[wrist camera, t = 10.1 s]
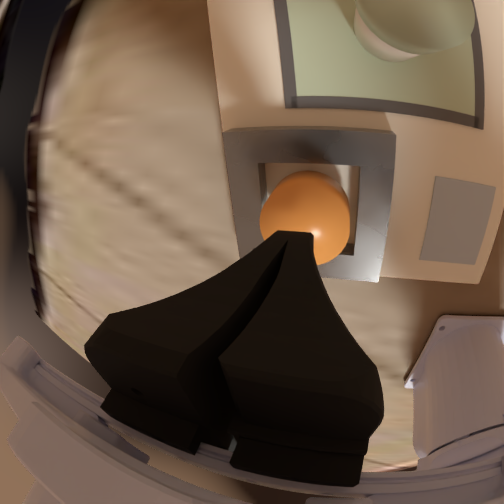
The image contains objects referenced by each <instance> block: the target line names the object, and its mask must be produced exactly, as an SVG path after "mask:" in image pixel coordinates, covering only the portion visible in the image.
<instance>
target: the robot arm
mask: <svg viewBox="0 0 504 504" xmlns="http://www.w3.org/2000/svg"><path fill="white" fill-rule="evenodd" d="M441 326H442V327H441ZM503 344H504V317H492V316H456V315H443V316H441V317H440V318H439V319H438V321H437V323H436V325H435V327H434V329H433V331H432V333H431V335H430V337H429V339H428V341H427V343H426V345H425V347H424V349H423V351H422V353H421V355H420V356H419V358H418V360H417V362H416V364H415V365H414V367H413V369H412V371H411V372H410V374H409V376H408V377H407V379H406V381H405V382H404V387H405V388H413V396H414V418H413V446H414V449H415V452H416V454H417V455H418V457H419V458H420V459H419V460H418V465H417V470H415V471H407V472H361V471H362V465H363V459H364V455H366V453H367V450H368V443H369V438H370V436H371V435H372V434H373V433H374V431H375V430H376V429H377V428H378V426H379V425H380V424H381V422H382V419H383V417H384V401H383V392H382V387H381V382H380V378H379V374H378V370H377V367H376V365H375V364H374V363H373V362H372V361H371V359H370V358H369V357H368V356H367V355H366V353H365V352H364V351H363V350H362V348H361V347H360V346H359V345H358V343H357V342H356V340H355V339H354V338H353V336H352V335H351V334H350V332H349V331H348V329H347V327H346V326H345V324H344V323H343V321H342V319H341V318H340V316H339V315H338V313H337V311H336V309H335V308H334V306H333V304H332V302H331V300H330V298H329V296H328V294H327V291H326V289H325V287H324V284H323V282H322V279H321V276H320V274H319V270H318V267H317V264H316V260H315V256H314V235H313V234H312V233H311V232H298V231H284V230H277V231H276V232H275V233H273V234H272V235H271V236H270V237H268V238H267V239H266V240H265V241H263V242H262V243H261V244H260V245H258V246H257V247H256V248H255V249H253V250H252V251H251V252H249V253H248V254H247V255H245V256H244V257H242V258H241V259H240V260H238V261H237V262H235V263H234V264H232V265H231V266H229V267H228V268H226V269H225V270H223V271H222V272H220V273H218V274H217V275H215V276H213V277H211V278H209V279H207V280H206V281H204V282H202V283H200V284H198V285H196V286H193V287H191V288H189V289H187V290H184V291H182V292H180V293H178V294H175V295H173V296H170V297H168V298H165V299H162V300H159V301H156V302H153V303H150V304H147V305H144V306H140V307H137V308H133V309H129V310H125V311H120V312H116V313H112V314H109V315H108V316H107V317H106V319H105V320H104V321H103V322H102V324H101V325H100V326H99V327H98V328H97V330H96V331H95V332H94V333H93V335H92V336H91V337H90V338H89V340H88V341H87V342H86V343H85V345H84V349H85V354H86V356H87V358H88V360H89V361H90V363H91V364H92V366H93V367H94V368H95V369H96V370H97V372H98V373H99V374H100V375H101V376H102V378H103V379H104V380H105V381H106V382H107V384H108V385H109V386H110V387H111V388H112V389H111V390H110V392H109V393H108V395H107V396H106V398H105V399H103V398H101V397H100V396H98V395H96V394H94V393H93V392H91V391H89V390H87V389H86V388H84V387H83V386H81V385H80V384H78V383H76V382H75V381H73V380H72V379H70V378H69V377H67V376H66V375H64V374H63V373H61V372H60V371H58V370H57V369H55V368H54V367H53V366H51V365H50V364H48V363H47V362H46V361H44V360H43V359H41V357H40V355H39V354H38V353H37V352H36V350H35V349H34V348H33V347H32V346H31V345H30V344H29V343H28V342H27V341H26V340H24V339H23V338H22V337H21V336H17V337H16V338H15V339H14V340H13V342H12V343H11V344H10V345H9V346H8V348H7V349H6V350H5V351H4V353H3V354H2V355H1V356H0V391H1V392H2V394H3V395H4V397H5V399H6V400H7V402H8V404H9V405H10V407H11V408H12V410H13V412H14V413H15V415H16V416H17V418H18V419H19V421H18V422H17V424H16V425H15V427H14V428H13V430H12V432H11V433H10V435H9V436H8V438H7V441H8V444H9V447H10V448H11V450H12V452H13V453H14V455H15V456H16V457H17V459H18V460H19V461H20V462H21V463H22V464H23V466H25V468H26V469H27V470H28V471H29V472H30V473H31V474H32V475H33V476H34V478H35V479H36V480H35V482H34V483H33V485H32V487H31V489H30V490H29V492H28V494H27V496H26V498H25V500H24V502H23V503H22V504H252V503H248V502H244V501H240V500H237V499H234V498H230V497H227V496H224V495H221V494H218V493H215V492H212V491H209V490H206V489H204V488H201V487H198V486H196V485H193V484H190V483H188V482H185V481H183V480H181V479H178V478H176V477H174V476H171V475H169V474H167V473H165V472H162V471H160V470H158V469H156V468H154V467H152V466H150V465H148V464H147V463H148V461H149V459H150V458H149V456H148V455H147V454H145V453H143V452H141V451H140V450H138V449H137V448H135V447H134V446H133V445H131V444H130V443H128V442H127V441H126V440H125V439H124V438H122V437H121V436H120V435H119V434H117V433H116V432H114V431H112V430H111V429H110V428H108V425H110V426H111V427H113V428H115V429H117V430H118V431H120V432H122V433H124V434H126V435H128V436H130V437H131V438H133V439H135V440H137V441H139V442H141V443H143V444H145V445H147V446H149V447H151V448H154V449H156V450H158V451H160V452H163V453H165V454H167V455H169V456H172V457H174V458H176V459H179V460H182V461H184V462H186V463H189V464H192V465H195V466H197V467H200V468H203V469H206V470H209V471H212V472H215V473H218V474H221V475H224V476H228V477H231V478H235V479H238V480H242V481H246V482H250V483H254V484H258V485H262V486H267V487H272V488H277V489H282V490H288V491H294V492H300V493H308V494H316V495H326V496H339V497H360V498H315V497H314V498H313V497H310V498H309V499H307V500H306V504H504V345H503ZM107 424H108V425H107Z"/></svg>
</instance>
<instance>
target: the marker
mask: <svg viewBox="0 0 504 504" xmlns="http://www.w3.org/2000/svg"><path fill="white" fill-rule="evenodd" d="M355 4H356V10H355V17H354V32H355V35H356V37H357V39H358V41H359V43H360V44H361V45H362V47H363V48H364V49H365V50H366V51H368V52H369V53H370V54H372V55H373V56H375V57H377V58H379V59H381V60H384V61H388V62H402V61H406V60H408V59H411V58H414V57H416V56H419V55H427V54H433V53H436V52H439V51H443V50H446V49H449V48H453V47H456V46H458V45H460V44H462V43H463V42H465V41H466V40H467V39H468V38H469V36H470V35H471V33H472V31H473V28H474V24H475V13H474V7H473V4H472V1H471V0H355Z"/></svg>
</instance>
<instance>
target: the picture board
mask: <svg viewBox="0 0 504 504" xmlns="http://www.w3.org/2000/svg"><path fill="white" fill-rule="evenodd" d="M471 1H472V4H473V7H474V13H475V24H474V28H473V31H472V33H471V35H470V36H469V38H468V39H467V40H466V41H465V42H463V43H462V44H460V45H458V46H456V47H453V48H449V49H446V50H443V51H439V52H436V53H433V54H427V55H419V56H416V57H414V58H411V59H408V60H406V61H402V62H388V61H384V60H381V59H379V58H377V57H375V56H373V55H372V54H370V53H369V52H368V51H366V50H365V49H364V48H363V47H362V45H361V44H360V43H359V41H358V39H357V37H356V35H355V32H354V17H355V10H356V4H355V0H207V6H208V15H209V24H210V33H211V41H212V50H213V58H214V66H215V74H216V82H217V90H218V98H219V106H220V114H221V122H222V129H223V132H225V131H227V130H229V129H232V128H246V127H266V126H334V127H354V128H368V129H379V130H389V131H393V132H394V133H395V134H396V154H395V170H394V182H393V192H392V201H391V209H390V217H389V224H388V231H387V237H386V243H385V249H384V255H383V260H382V266H381V271H380V275H379V276H380V277H392V278H404V279H416V280H429V281H442V282H455V283H468V284H479V282H480V279H481V277H482V274H483V272H484V269H485V267H486V264H487V261H488V258H489V256H490V253H491V250H492V247H493V244H494V241H495V237H496V234H497V231H498V227H499V224H500V220H501V217H502V213H503V209H504V0H471ZM306 170H310V171H317V172H321V173H323V174H326V175H328V176H330V177H331V178H333V179H334V180H335V181H336V182H338V183H339V184H340V186H341V187H342V188H343V190H344V191H345V193H346V195H347V197H348V201H349V206H350V234H349V238H348V242H347V243H349V244H354V236H355V225H356V213H357V198H358V179H359V166H351V165H334V164H311V163H265V172H266V184H267V195H268V198H269V196H270V195H271V193H272V192H273V190H274V189H275V187H276V185H277V184H278V183H279V182H280V181H281V180H282V179H283V178H285V177H286V176H288V175H290V174H292V173H295V172H298V171H306Z"/></svg>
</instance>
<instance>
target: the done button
mask: <svg viewBox="0 0 504 504" xmlns="http://www.w3.org/2000/svg"><path fill="white" fill-rule="evenodd" d="M260 230H261V234H262V236H263V239H264V241H265V240H266V239H267V238H268V237H270V236H271V235H272V234H273V233H275V232H276V231H277V230H284V231H298V232H311V233H312V234H313V235H314V256H315V260H316V264H317V265H320V264H324V263H326V262H329V261H331V260H332V259H334V258H335V257H336V256H338V255H339V254H340V253H341V252H342V250H343V249H344V247H345V246H346V244H347V242H348V238H349V234H350V206H349V201H348V197H347V195H346V193H345V191H344V190H343V188H342V187H341V186H340V184H339V183H338V182H336V181H335V180H334V179H333V178H331V177H330V176H328V175H326V174H323V173H321V172H317V171H310V170H306V171H298V172H295V173H292V174H290V175H288V176H286V177H285V178H283V179H282V180H281V181H280V182H279V183H278V184H277V185H276V187H275V189H274V190H273V192H272V193H271V195H270V196H269V198H268V199H267V201H266V202H265V204H264V205H263V208H262V210H261V214H260Z"/></svg>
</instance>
